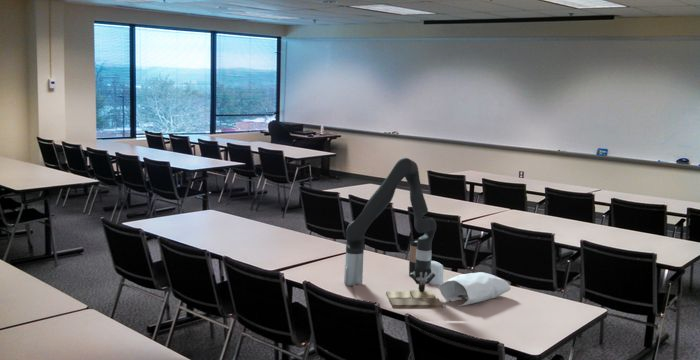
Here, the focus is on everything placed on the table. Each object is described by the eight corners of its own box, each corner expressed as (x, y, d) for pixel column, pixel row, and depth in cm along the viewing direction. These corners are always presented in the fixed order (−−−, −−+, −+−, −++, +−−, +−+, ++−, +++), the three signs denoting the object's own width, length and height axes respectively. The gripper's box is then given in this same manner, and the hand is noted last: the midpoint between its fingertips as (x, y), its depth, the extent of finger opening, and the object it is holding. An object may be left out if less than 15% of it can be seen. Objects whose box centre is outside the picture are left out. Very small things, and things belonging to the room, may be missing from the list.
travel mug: (423, 275, 354) (425, 240, 351) (420, 278, 347) (422, 243, 344) (410, 273, 356) (412, 238, 353) (407, 277, 349) (408, 241, 346)
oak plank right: (413, 300, 308) (413, 297, 308) (409, 293, 317) (410, 290, 317) (435, 300, 310) (435, 297, 309) (431, 293, 318) (431, 290, 318)
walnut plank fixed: (392, 307, 298) (392, 304, 297) (389, 301, 306) (389, 298, 306) (442, 307, 300) (442, 304, 300) (438, 301, 309) (438, 298, 309)
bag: (516, 293, 318) (477, 291, 294) (488, 313, 328) (448, 314, 303) (497, 261, 328) (458, 257, 304) (471, 282, 338) (430, 280, 313)
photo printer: (424, 282, 341) (425, 259, 339) (429, 280, 344) (430, 258, 342) (438, 287, 333) (439, 264, 332) (443, 286, 336) (445, 263, 334)
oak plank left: (388, 300, 307) (389, 297, 307) (386, 294, 316) (386, 291, 316) (411, 300, 308) (411, 297, 308) (407, 294, 317) (407, 291, 317)
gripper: (411, 260, 309) (409, 294, 312) (438, 260, 311) (436, 294, 314) (408, 255, 316) (406, 288, 320) (434, 255, 318) (432, 288, 321)
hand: (421, 291), depth 317 cm, fingers closed
